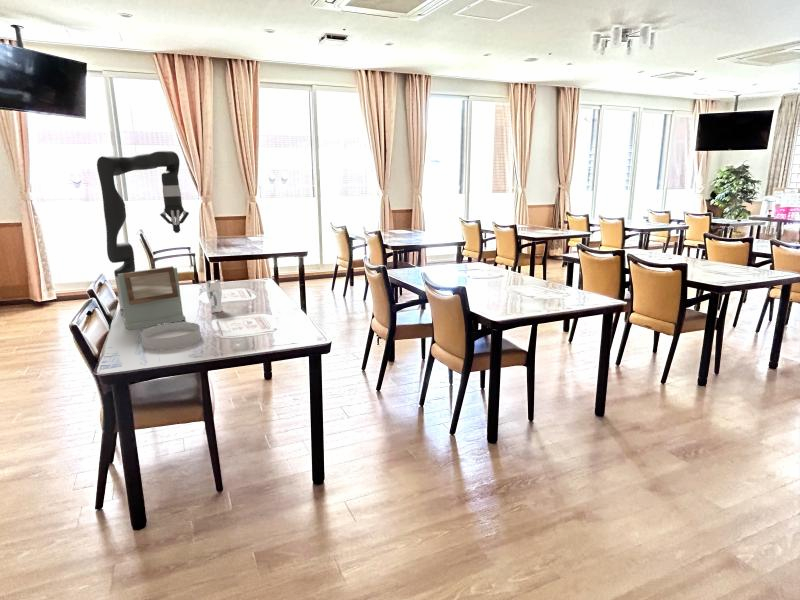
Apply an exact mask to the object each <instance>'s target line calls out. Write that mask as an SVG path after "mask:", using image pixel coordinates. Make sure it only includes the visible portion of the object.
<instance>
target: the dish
mask: <svg viewBox="0 0 800 600" xmlns="http://www.w3.org/2000/svg"><path fill="white" fill-rule="evenodd" d="M140 336H141V346H142V348H144V349H146V348H147V349H146V350H150V349H168V350H174V348H176V349H180V348H184V347H188V346H191V345H193V343H194V344H196V343H198V342H199V341H201V339H202V332H201V328H200V324H198V323H195V322H190V321H189V322H186V321H180V322H174V323H168V324H162V325H156V326H150V327H147V328H146V329H144V330H143V331H142V332H141V334H140ZM197 341H198V342H197Z"/></svg>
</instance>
